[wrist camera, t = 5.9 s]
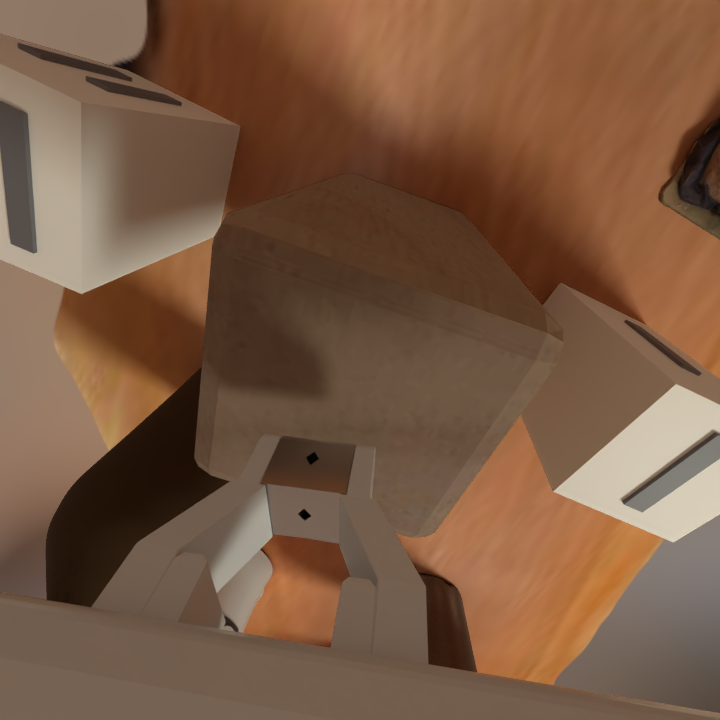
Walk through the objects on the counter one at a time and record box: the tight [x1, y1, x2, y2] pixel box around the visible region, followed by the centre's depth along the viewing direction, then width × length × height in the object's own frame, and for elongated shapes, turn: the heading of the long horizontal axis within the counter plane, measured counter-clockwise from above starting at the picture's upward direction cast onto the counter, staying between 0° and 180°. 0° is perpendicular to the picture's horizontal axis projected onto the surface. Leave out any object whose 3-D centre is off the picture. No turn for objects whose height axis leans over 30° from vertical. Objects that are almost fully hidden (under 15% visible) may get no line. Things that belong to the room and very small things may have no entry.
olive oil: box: [46, 367, 230, 607], centre depth 26 cm, size 11×11×25 cm
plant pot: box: [419, 574, 477, 672], centre depth 45 cm, size 16×16×16 cm
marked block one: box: [521, 283, 720, 542], centre depth 24 cm, size 8×8×14 cm
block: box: [194, 173, 564, 537], centre depth 20 cm, size 10×10×20 cm
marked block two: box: [0, 34, 241, 294], centre depth 20 cm, size 8×8×14 cm
